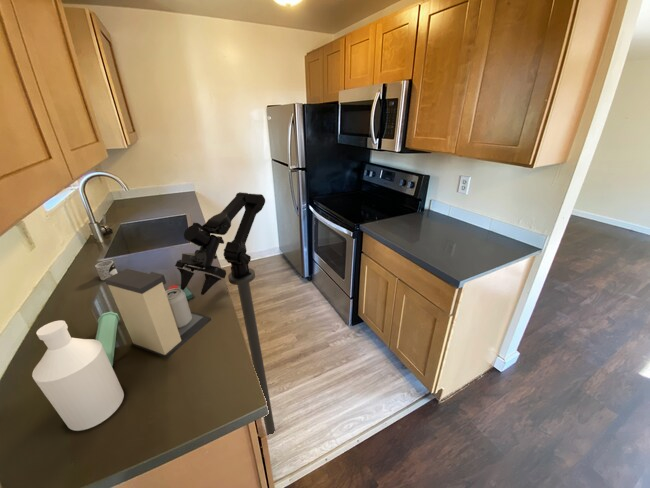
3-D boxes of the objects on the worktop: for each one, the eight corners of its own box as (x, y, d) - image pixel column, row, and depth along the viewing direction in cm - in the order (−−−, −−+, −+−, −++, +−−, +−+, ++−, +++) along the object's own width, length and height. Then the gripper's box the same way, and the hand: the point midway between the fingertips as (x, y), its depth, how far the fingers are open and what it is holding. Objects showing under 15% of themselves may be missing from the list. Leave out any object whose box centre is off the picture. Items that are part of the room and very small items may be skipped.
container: (102, 358, 74) (110, 308, 93) (80, 373, 72) (93, 319, 92) (119, 368, 77) (124, 318, 97) (98, 383, 76) (107, 329, 95)
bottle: (68, 443, 60) (10, 359, 50) (62, 408, 68) (10, 329, 57) (130, 405, 68) (91, 325, 58) (118, 377, 75) (82, 303, 65)
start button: (177, 287, 110) (176, 284, 109) (180, 291, 108) (179, 287, 107) (167, 291, 108) (166, 287, 107) (170, 295, 105) (169, 291, 105)
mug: (115, 278, 125) (110, 265, 122) (98, 281, 123) (92, 268, 120) (122, 268, 134) (117, 256, 131) (106, 271, 132) (101, 258, 129)
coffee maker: (179, 310, 101) (161, 251, 91) (211, 320, 96) (195, 258, 86) (132, 345, 86) (103, 279, 76) (166, 358, 81) (140, 289, 71)
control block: (185, 288, 115) (183, 281, 114) (193, 297, 109) (191, 290, 108) (159, 298, 109) (156, 291, 108) (165, 308, 103) (163, 301, 102)
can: (193, 312, 98) (184, 284, 93) (192, 326, 91) (183, 296, 86) (169, 318, 95) (159, 289, 90) (167, 332, 89) (156, 302, 84)
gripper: (172, 239, 97) (153, 282, 92) (213, 246, 90) (195, 292, 86) (194, 250, 107) (178, 289, 102) (233, 256, 100) (218, 298, 96)
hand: (191, 292), depth 96 cm, fingers open, 9 cm apart
